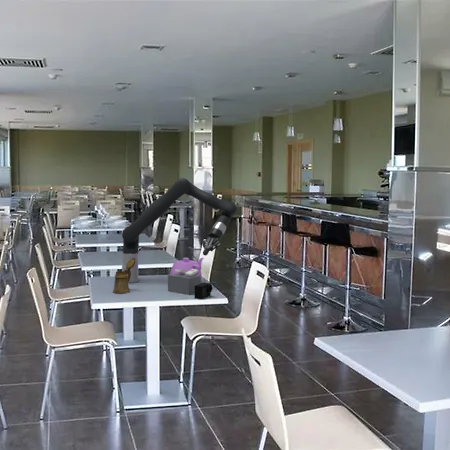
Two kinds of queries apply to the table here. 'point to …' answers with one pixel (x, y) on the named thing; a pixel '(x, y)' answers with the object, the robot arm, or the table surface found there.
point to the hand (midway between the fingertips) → (204, 254)
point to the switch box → (183, 283)
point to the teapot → (187, 266)
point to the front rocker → (191, 272)
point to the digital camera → (202, 290)
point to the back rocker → (181, 271)
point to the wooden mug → (123, 279)
